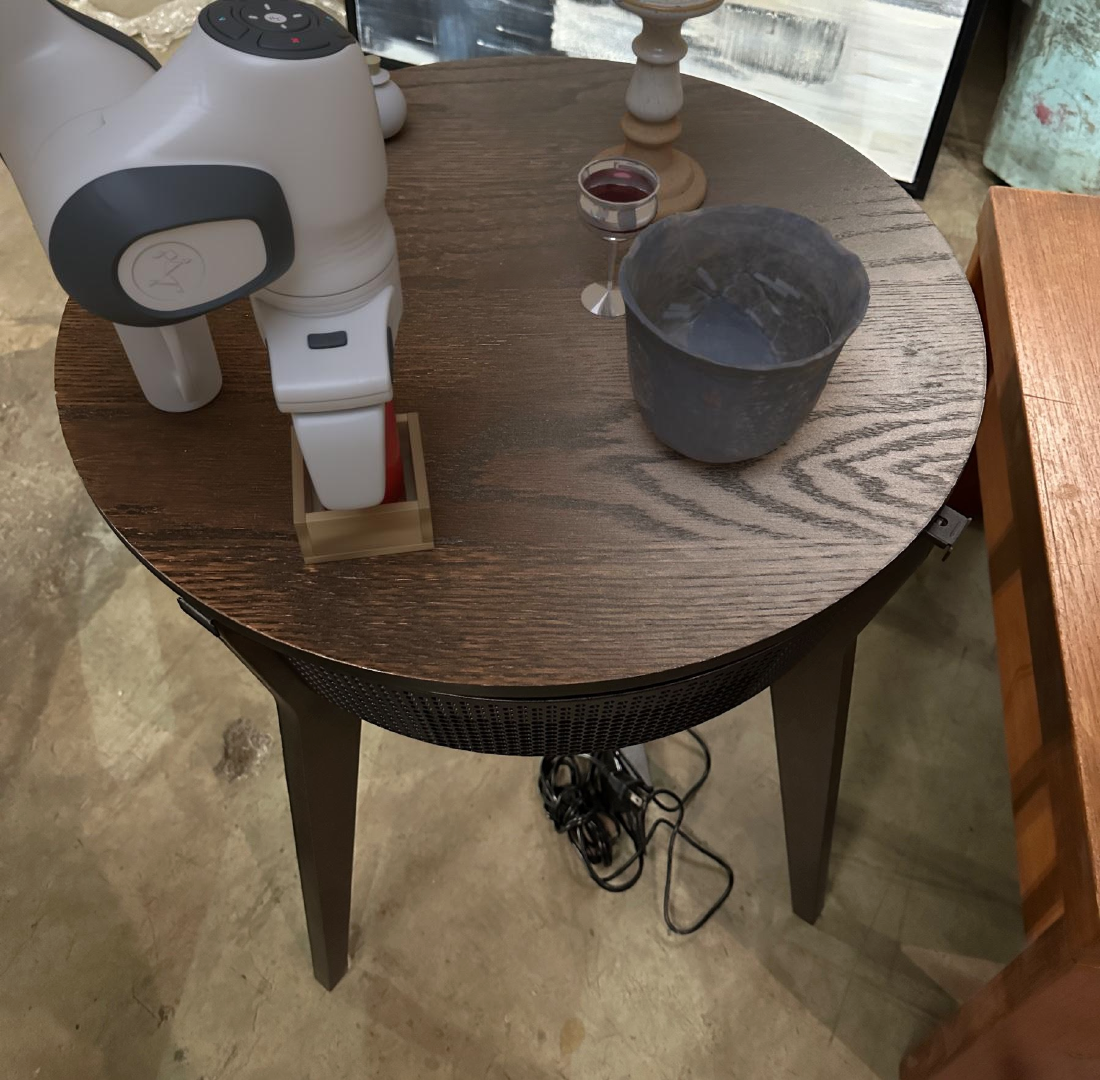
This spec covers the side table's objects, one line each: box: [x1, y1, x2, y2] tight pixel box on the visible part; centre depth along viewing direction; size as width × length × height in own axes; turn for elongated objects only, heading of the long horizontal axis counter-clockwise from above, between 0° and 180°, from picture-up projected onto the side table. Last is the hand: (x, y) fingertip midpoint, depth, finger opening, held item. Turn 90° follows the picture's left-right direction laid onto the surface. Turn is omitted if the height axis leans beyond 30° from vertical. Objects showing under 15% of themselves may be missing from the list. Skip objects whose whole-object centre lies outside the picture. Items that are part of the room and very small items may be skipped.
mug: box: [112, 314, 223, 413], centre depth 79 cm, size 10×7×12 cm, turn 28°
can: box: [322, 396, 407, 511], centre depth 72 cm, size 6×6×12 cm
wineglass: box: [575, 157, 660, 318], centre depth 88 cm, size 7×7×12 cm
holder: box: [290, 411, 435, 565], centre depth 75 cm, size 9×9×5 cm
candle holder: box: [588, 0, 725, 225], centre depth 95 cm, size 12×12×20 cm
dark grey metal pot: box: [617, 203, 871, 464], centre depth 77 cm, size 18×18×15 cm
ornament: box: [364, 54, 408, 140], centre depth 103 cm, size 6×7×10 cm
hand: (356, 447), depth 72 cm, fingers open, 8 cm apart
